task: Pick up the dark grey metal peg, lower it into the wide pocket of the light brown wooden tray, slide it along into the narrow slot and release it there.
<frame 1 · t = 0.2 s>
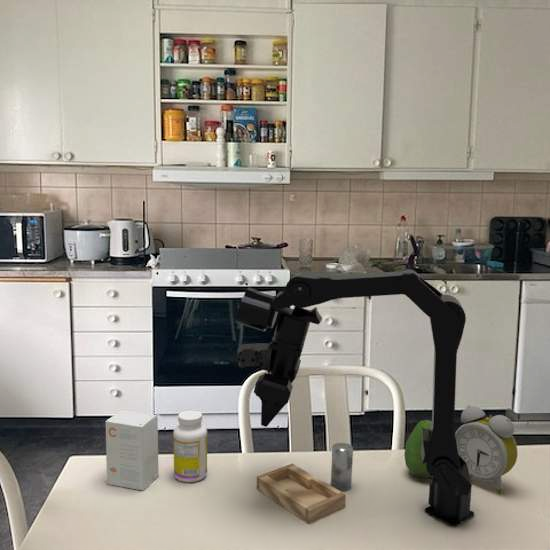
hand: (267, 415, 114), 15 cm above the table, tool pointing down, fingers open, 9 cm apart
light brown wooden tray: (299, 497, 114), on the table
alarm clock: (483, 482, 122), on the table
grey metal peg: (341, 485, 119), on the table
small box: (133, 481, 119), on the table
avocado: (422, 476, 124), on the table
supplement bottle: (190, 476, 121), on the table
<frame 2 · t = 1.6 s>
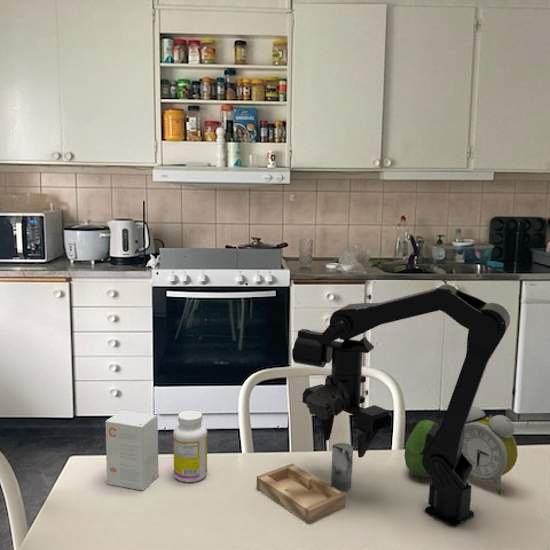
hand: (343, 448, 117), 8 cm above the table, tool pointing down, fingers open, 9 cm apart
nothing on the table moved.
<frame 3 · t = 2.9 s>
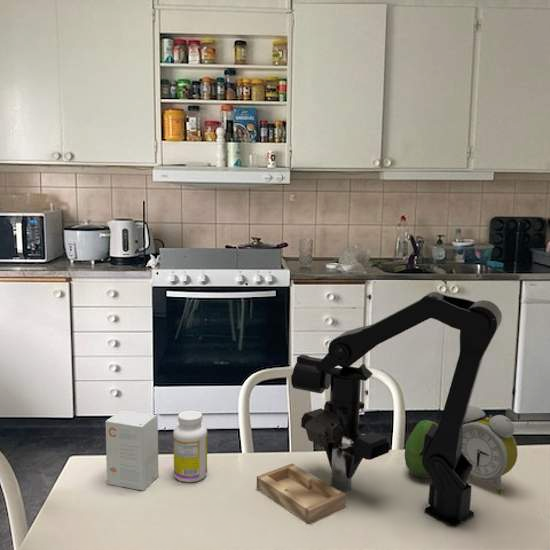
hand: (341, 473, 118), 3 cm above the table, tool pointing down, fingers closed on grey metal peg, 4 cm apart
grey metal peg: (341, 485, 119), on the table, touching gripper
everything else where it was.
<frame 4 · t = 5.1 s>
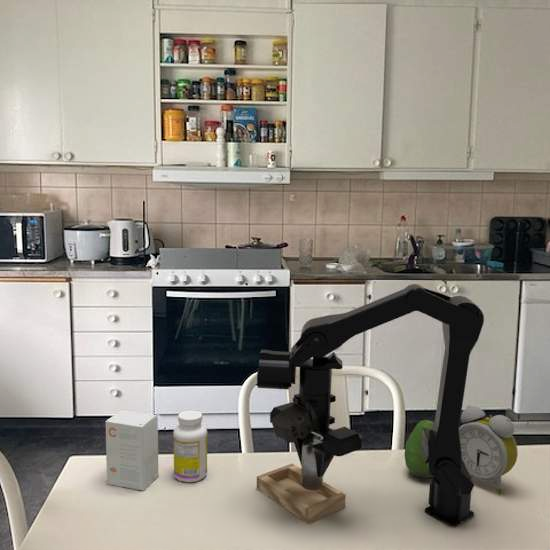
hand: (312, 471, 111), 6 cm above the table, tool pointing down, fingers closed on grey metal peg, 4 cm apart
grey metal peg: (311, 484, 111), point 4 cm above the table, touching gripper
everything else where it was.
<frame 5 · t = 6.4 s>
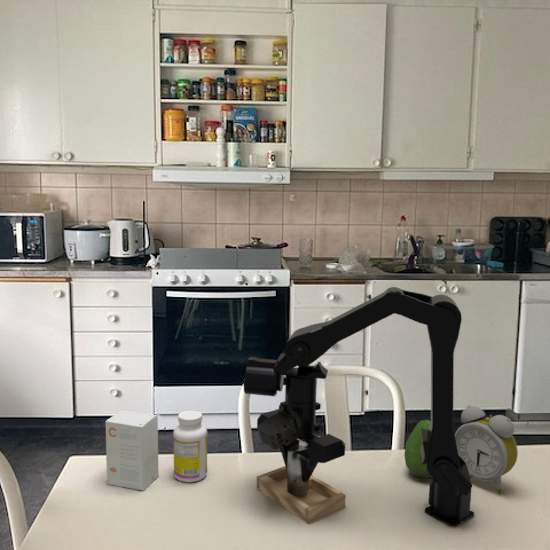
hand: (297, 477, 114), 4 cm above the table, tool pointing down, fingers closed on grey metal peg, 4 cm apart
grey metal peg: (297, 489, 114), point 1 cm above the table, touching gripper
everything else where it was.
when the fingers open (4 cm above the table, at t = 7.4 s): grey metal peg stays where it is, resting on light brown wooden tray.
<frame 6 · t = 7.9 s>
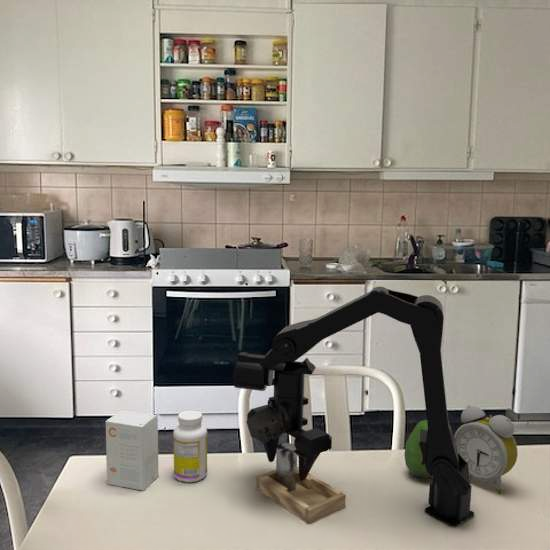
hand: (286, 470, 116), 4 cm above the table, tool pointing down, fingers open, 9 cm apart
grey metal peg: (286, 486, 117), point 1 cm above the table, touching light brown wooden tray
everything else where it was.
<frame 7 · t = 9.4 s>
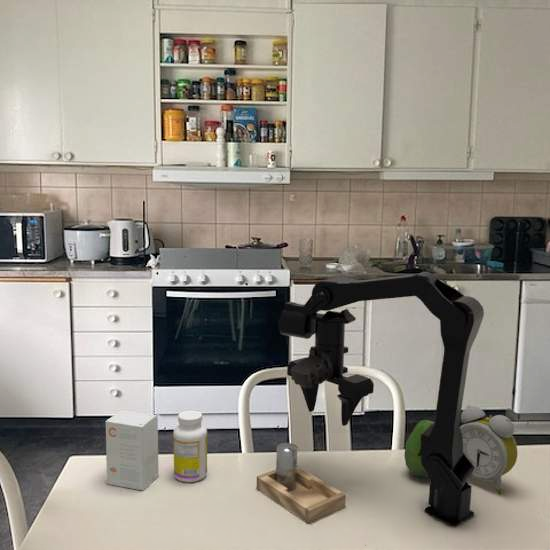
hand: (327, 418, 121), 12 cm above the table, tool pointing down, fingers open, 9 cm apart
nothing on the table moved.
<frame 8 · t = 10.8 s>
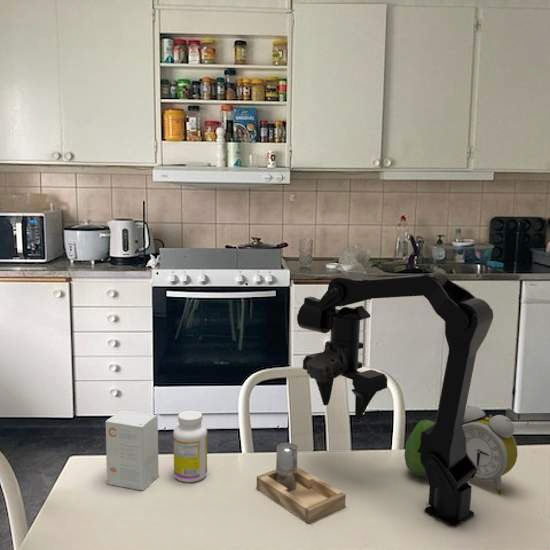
hand: (341, 411, 123), 13 cm above the table, tool pointing down, fingers open, 9 cm apart
nothing on the table moved.
at the end: grey metal peg 0.2 cm from the target spot on the light brown wooden tray, point 0.5 cm above the light brown wooden tray's base; grey metal peg tilted 1°; the gripper is holding nothing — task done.
